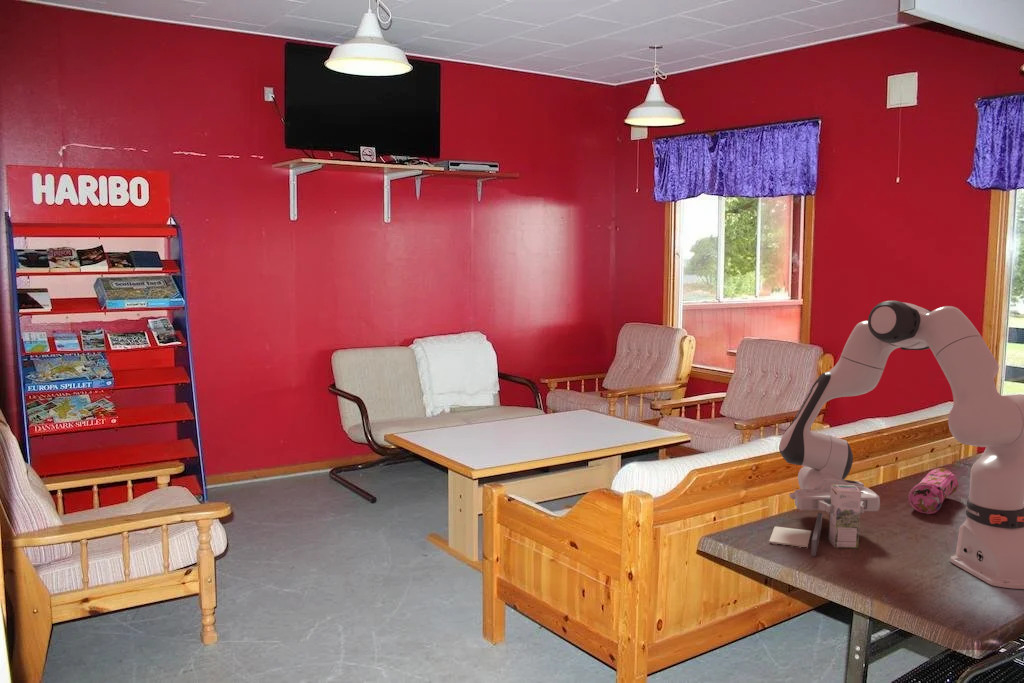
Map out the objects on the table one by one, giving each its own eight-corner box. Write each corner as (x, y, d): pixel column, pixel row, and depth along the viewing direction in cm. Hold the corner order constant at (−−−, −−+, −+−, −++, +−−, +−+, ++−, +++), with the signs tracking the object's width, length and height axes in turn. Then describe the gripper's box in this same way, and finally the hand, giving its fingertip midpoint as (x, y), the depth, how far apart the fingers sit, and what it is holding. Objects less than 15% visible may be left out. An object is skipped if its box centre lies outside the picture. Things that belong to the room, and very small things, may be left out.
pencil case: (943, 518, 233) (944, 486, 232) (906, 511, 238) (907, 480, 237) (958, 499, 250) (960, 469, 248) (923, 493, 255) (925, 464, 254)
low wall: (821, 528, 224) (822, 513, 224) (815, 556, 204) (816, 540, 204) (817, 527, 225) (818, 512, 224) (811, 555, 205) (811, 539, 204)
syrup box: (851, 540, 215) (854, 483, 213) (858, 549, 209) (861, 490, 207) (828, 540, 215) (830, 483, 214) (834, 548, 209) (836, 490, 208)
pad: (811, 533, 221) (811, 530, 221) (807, 548, 210) (807, 545, 210) (774, 528, 224) (774, 526, 224) (769, 543, 213) (769, 541, 213)
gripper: (787, 481, 224) (802, 496, 210) (868, 482, 223) (888, 497, 209) (787, 505, 225) (802, 522, 211) (867, 505, 224) (887, 523, 210)
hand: (846, 510), depth 210 cm, fingers closed on syrup box, 6 cm apart
